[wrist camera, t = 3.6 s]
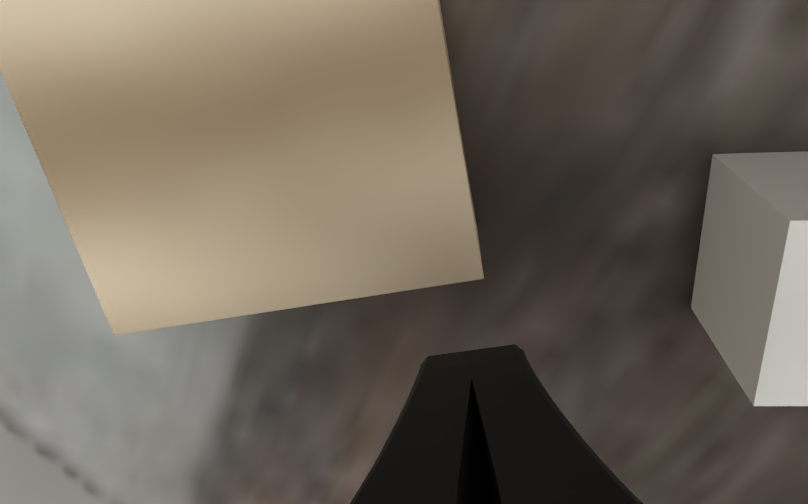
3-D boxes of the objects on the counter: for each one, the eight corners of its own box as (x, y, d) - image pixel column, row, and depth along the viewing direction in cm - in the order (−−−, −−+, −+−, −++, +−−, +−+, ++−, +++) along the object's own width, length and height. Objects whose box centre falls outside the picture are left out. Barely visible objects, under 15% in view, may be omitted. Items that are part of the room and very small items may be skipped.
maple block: (477, 227, 18) (483, 278, 16) (158, 279, 19) (113, 335, 17) (413, -157, 15) (408, -177, 12) (27, -67, 16) (-59, -66, 13)
